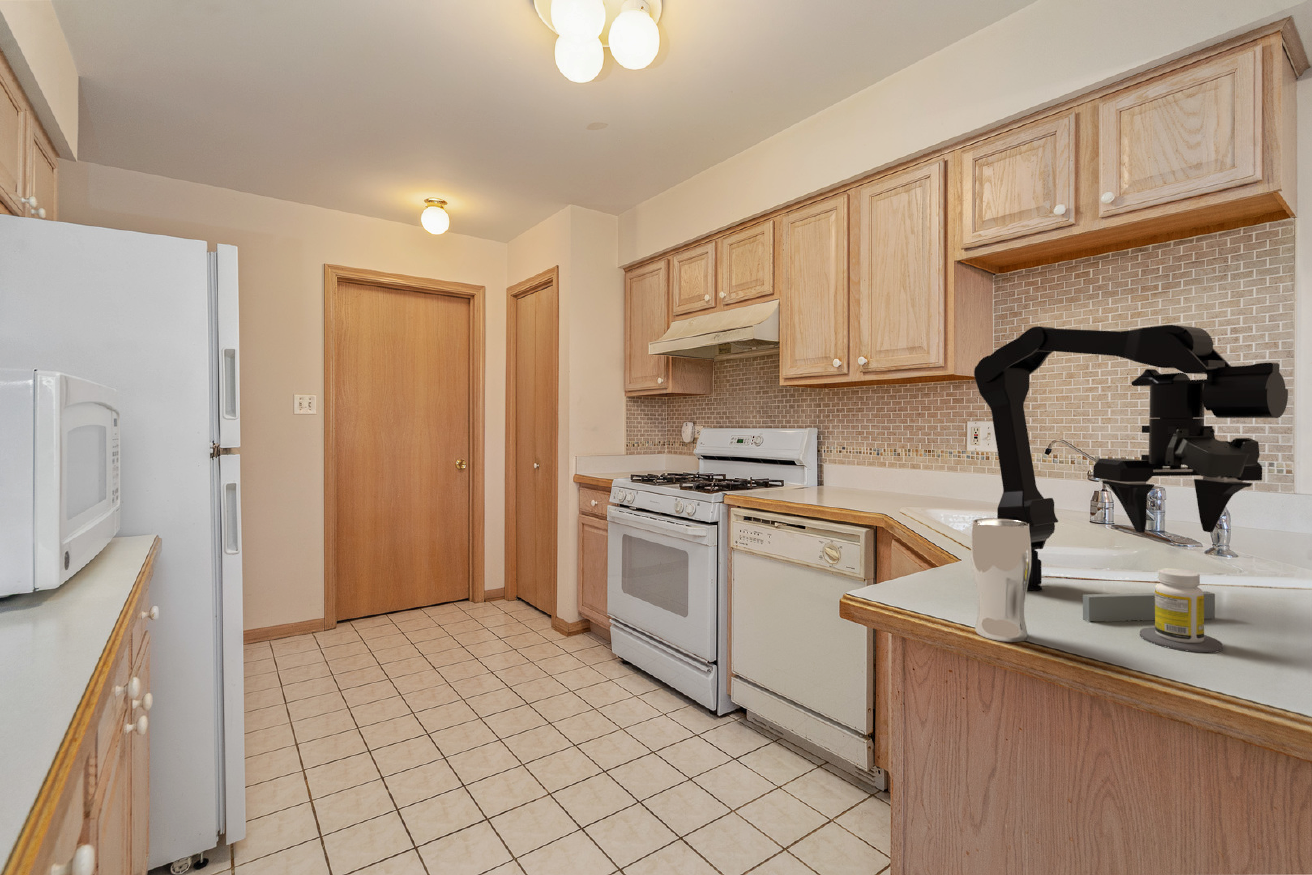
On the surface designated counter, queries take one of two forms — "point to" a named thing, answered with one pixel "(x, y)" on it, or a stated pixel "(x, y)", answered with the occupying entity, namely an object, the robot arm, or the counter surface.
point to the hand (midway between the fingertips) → (1174, 532)
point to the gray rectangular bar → (1131, 606)
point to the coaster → (1205, 646)
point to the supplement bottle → (1179, 606)
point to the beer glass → (1001, 577)
